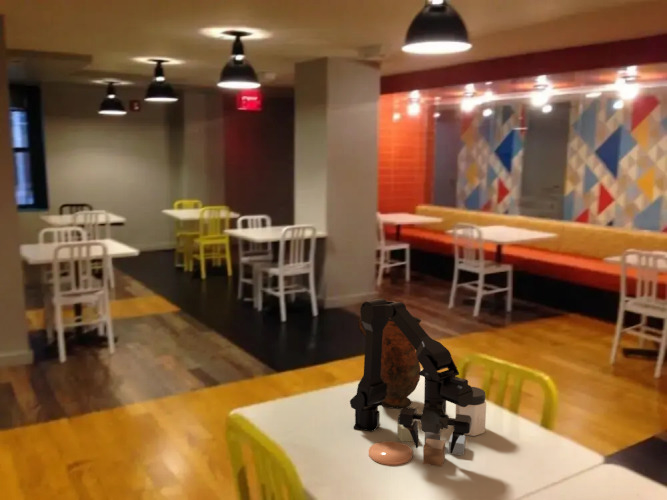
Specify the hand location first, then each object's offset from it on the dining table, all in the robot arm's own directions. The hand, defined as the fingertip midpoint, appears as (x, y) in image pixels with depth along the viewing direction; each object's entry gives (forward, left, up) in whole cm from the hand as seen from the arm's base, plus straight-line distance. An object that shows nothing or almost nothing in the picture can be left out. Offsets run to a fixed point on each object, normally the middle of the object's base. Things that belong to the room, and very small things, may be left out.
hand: (434, 450), depth 168 cm
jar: (+7, +22, -3) cm, 23 cm away
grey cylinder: (-2, +9, -3) cm, 10 cm away
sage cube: (-10, +11, -3) cm, 15 cm away
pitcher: (-21, +35, -3) cm, 41 cm away
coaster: (-12, 0, -3) cm, 12 cm away
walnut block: (0, 0, -3) cm, 3 cm away
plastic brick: (+5, +8, -3) cm, 10 cm away
